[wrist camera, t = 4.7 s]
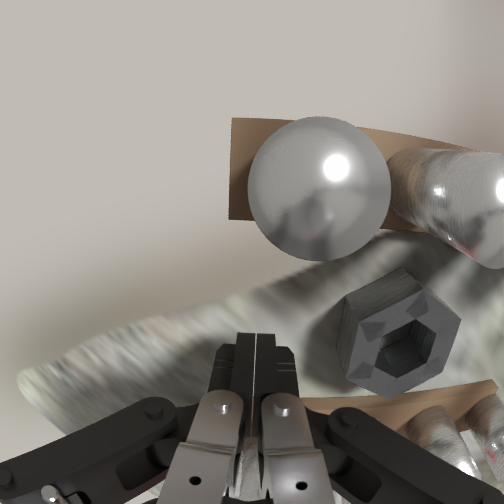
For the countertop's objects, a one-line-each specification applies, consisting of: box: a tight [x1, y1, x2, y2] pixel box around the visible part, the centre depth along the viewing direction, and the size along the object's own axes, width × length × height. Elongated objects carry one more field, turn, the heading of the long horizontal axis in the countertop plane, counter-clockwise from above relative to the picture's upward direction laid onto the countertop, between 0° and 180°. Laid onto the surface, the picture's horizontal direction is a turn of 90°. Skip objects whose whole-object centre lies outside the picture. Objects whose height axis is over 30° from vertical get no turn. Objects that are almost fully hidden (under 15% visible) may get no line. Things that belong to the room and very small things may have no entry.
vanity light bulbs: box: [229, 117, 504, 504], centre depth 12 cm, size 19×18×7 cm
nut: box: [336, 268, 461, 399], centre depth 14 cm, size 5×6×2 cm
